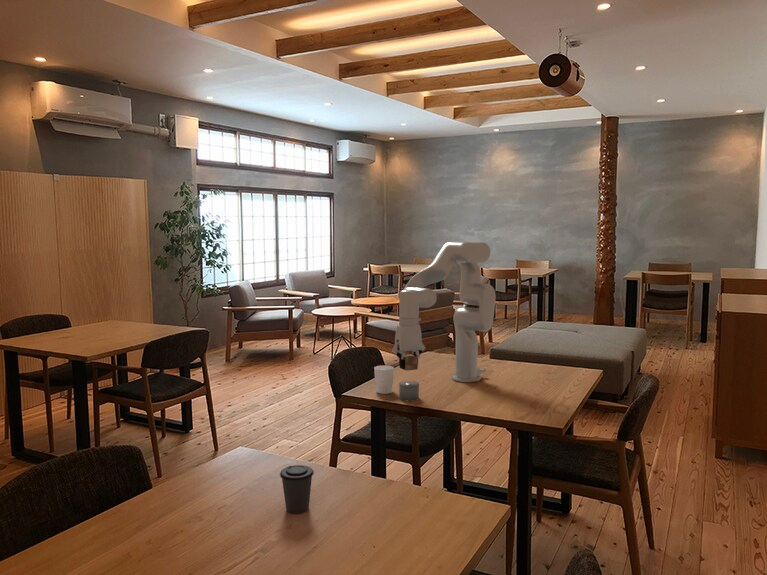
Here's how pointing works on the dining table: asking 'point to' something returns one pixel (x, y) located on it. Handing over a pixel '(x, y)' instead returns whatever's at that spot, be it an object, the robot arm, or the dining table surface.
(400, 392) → the stoneware pot
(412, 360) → the walnut cube
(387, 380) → the white cup
